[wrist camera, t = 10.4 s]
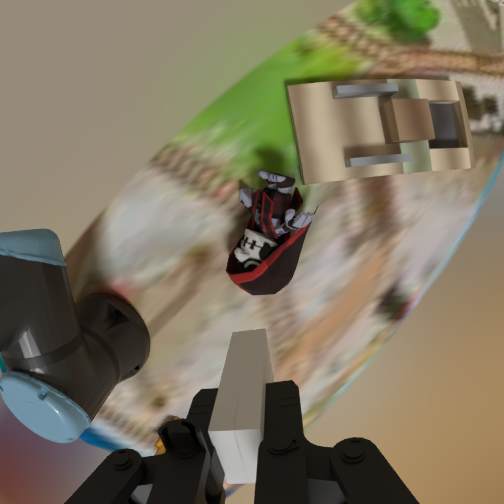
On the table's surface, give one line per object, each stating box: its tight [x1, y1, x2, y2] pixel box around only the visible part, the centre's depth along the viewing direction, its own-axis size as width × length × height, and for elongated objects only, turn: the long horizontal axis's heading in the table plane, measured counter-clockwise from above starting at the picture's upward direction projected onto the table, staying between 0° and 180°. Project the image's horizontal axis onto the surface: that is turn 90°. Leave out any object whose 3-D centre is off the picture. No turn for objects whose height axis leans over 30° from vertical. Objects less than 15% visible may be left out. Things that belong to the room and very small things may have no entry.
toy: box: [226, 170, 318, 295], centre depth 40 cm, size 12×9×15 cm
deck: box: [286, 79, 476, 185], centre depth 37 cm, size 26×13×6 cm, turn 99°
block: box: [379, 99, 435, 144], centre depth 34 cm, size 5×5×5 cm
